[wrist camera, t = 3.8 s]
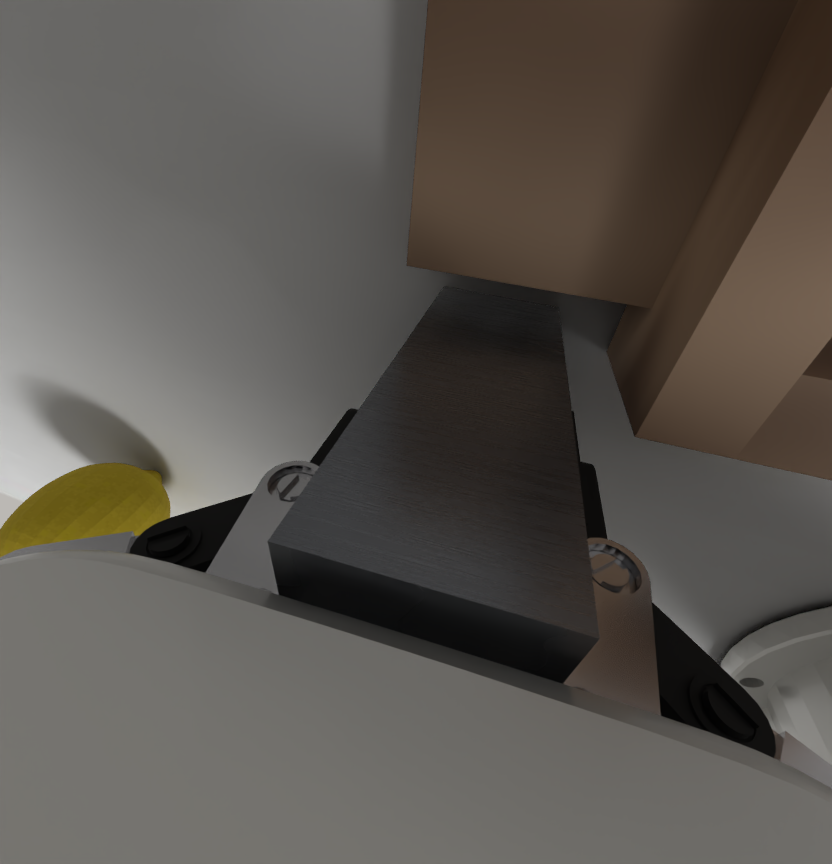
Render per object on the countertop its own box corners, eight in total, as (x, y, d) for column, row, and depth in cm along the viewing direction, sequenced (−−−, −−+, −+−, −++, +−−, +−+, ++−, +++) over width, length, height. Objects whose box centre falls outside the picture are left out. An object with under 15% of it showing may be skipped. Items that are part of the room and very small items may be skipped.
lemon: (94, 448, 22) (-83, 567, 16) (146, 420, 19) (-41, 549, 13) (167, 515, 24) (37, 643, 18) (221, 499, 22) (92, 640, 15)
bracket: (509, 458, 15) (477, 787, 7) (422, 437, 16) (306, 725, 8) (558, 307, 12) (599, 639, 4) (444, 286, 12) (267, 540, 4)
